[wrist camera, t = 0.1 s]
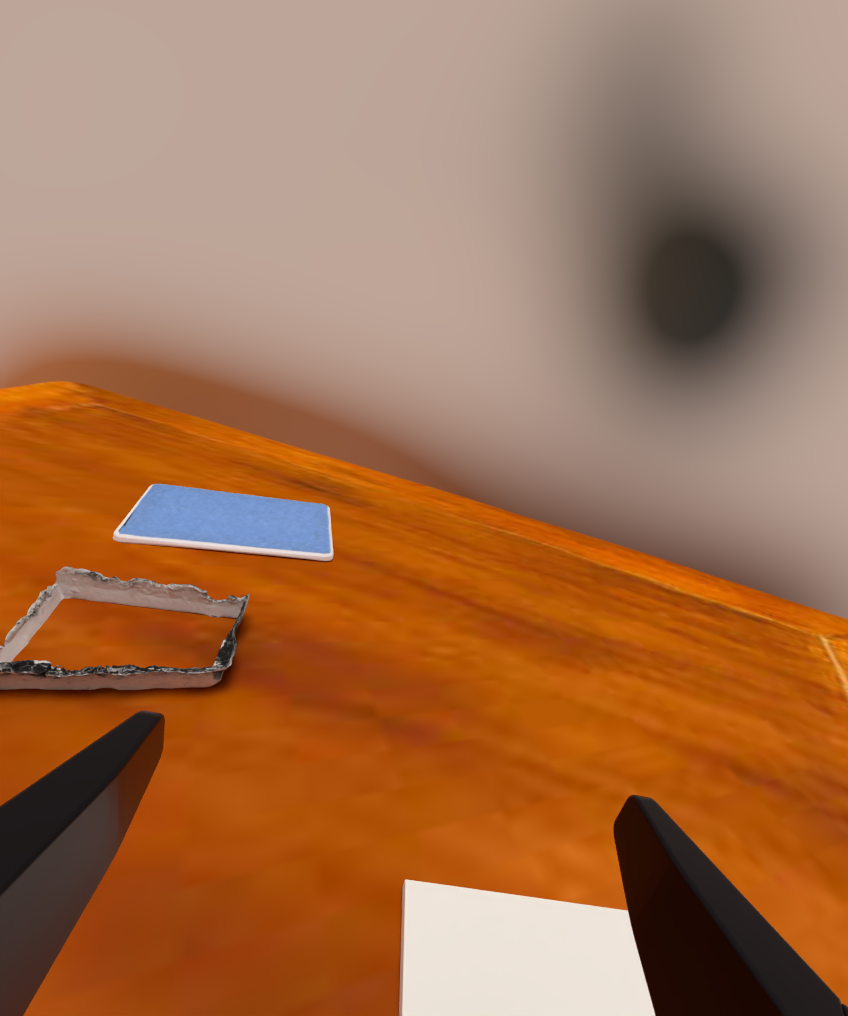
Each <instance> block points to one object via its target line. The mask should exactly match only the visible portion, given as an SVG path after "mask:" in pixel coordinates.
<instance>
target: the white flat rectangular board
mask: <svg viewBox="0 0 848 1016" xmlns="http://www.w3.org/2000/svg"><path fill="white" fill-rule="evenodd" d="M399 1016H655V1012H654V1009H653V1005H652V1001H651V998H650V994H649V990H648V987H647V983H646V979H645V976H644V972H643V968H642V965H641V961H640V957H639V954H638V950H637V947H636V943H635V939H634V935H633V931H632V927H631V923H630V918H629V914H628V911H626V910H618V909H611V908H604V907H597V906H590V905H583V904H576V903H569V902H562V901H555V900H548V899H541V898H533V897H526V896H519V895H512V894H505V893H498V892H491V891H484V890H477V889H470V888H463V887H456V886H448V885H441V884H434V883H427V882H420V881H413V880H406V879H405V882H404V885H403V892H402V927H401V962H400V997H399Z"/></svg>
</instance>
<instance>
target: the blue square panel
mask: <svg viewBox="0 0 848 1016" xmlns="http://www.w3.org/2000/svg"><path fill="white" fill-rule="evenodd" d="M113 540H115V541H117V542H121V543H132V544H144V545H158V546H171V547H182V548H194V549H205V550H215V551H226V552H236V553H247V554H258V555H270V556H280V557H290V558H300V559H310V560H318V561H331V560H332V559H333V543H332V531H331V518H330V508H329V507H328V506H326V505H324V504H318V503H310V502H301V501H293V500H285V499H277V498H269V497H261V496H253V495H245V494H237V493H229V492H221V491H213V490H205V489H197V488H189V487H181V486H173V485H165V484H153V485H151V486H150V487H149V488H148V489H147V490H146V492H145V493H144V494H143V496H142V497H141V498H140V499H139V501H138V502H137V503H136V505H135V506H134V507H133V508H132V510H131V511H130V512H129V513H128V515H127V516H126V517H125V519H124V520H123V521H122V523H121V524H120V525H119V526H118V528H117V529H116V530H115V532H114V535H113Z"/></svg>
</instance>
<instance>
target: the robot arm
mask: <svg viewBox="0 0 848 1016" xmlns="http://www.w3.org/2000/svg"><path fill="white" fill-rule="evenodd" d="M164 725H165V718H164V716H163V714H160V713H155V712H149V711H140V712H137V713H136V714H134V715H133V716H131V717H130V718H128V719H127V720H125V721H124V722H123V723H121V724H120V725H118V726H117V727H115V728H114V729H112V730H111V731H109V732H108V733H106V734H105V735H104V736H102V737H101V738H99V739H98V740H96V741H95V742H93V743H92V744H90V745H89V746H87V747H86V748H85V749H83V750H82V751H80V752H79V753H77V754H76V755H74V756H73V757H71V758H70V759H69V760H67V761H66V762H64V763H63V764H61V765H60V766H58V767H57V768H55V769H54V770H52V771H51V772H50V773H48V774H47V775H45V776H44V777H42V778H41V779H39V780H38V781H36V782H35V783H33V784H32V785H31V786H29V787H28V788H26V789H25V790H23V791H22V792H20V793H19V794H17V795H16V796H15V797H13V798H12V799H10V800H9V801H7V802H6V803H4V804H3V805H1V806H0V1016H23V1015H24V1013H25V1011H26V1009H27V1008H28V1006H29V1004H30V1002H31V1001H32V999H33V997H34V996H35V994H36V992H37V990H38V989H39V987H40V985H41V983H42V982H43V980H44V978H45V976H46V975H47V973H48V971H49V970H50V968H51V966H52V964H53V963H54V961H55V959H56V957H57V956H58V954H59V952H60V951H61V949H62V947H63V945H64V944H65V942H66V940H67V938H68V937H69V935H70V933H71V931H72V930H73V928H74V926H75V925H76V923H77V921H78V919H79V918H80V916H81V914H82V912H83V911H84V909H85V907H86V905H87V904H88V902H89V900H90V899H91V897H92V895H93V893H94V892H95V890H96V888H97V886H98V885H99V883H100V881H101V880H102V878H103V876H104V874H105V873H106V871H107V869H108V867H109V866H110V864H111V862H112V860H113V858H114V856H115V855H116V853H117V851H118V849H119V847H120V845H121V843H122V840H123V838H124V836H125V834H126V832H127V830H128V828H129V825H130V823H131V821H132V819H133V817H134V814H135V812H136V810H137V808H138V806H139V804H140V801H141V799H142V797H143V795H144V793H145V790H146V788H147V786H148V784H149V782H150V780H151V777H152V775H153V773H154V771H155V769H156V766H157V764H158V762H159V760H160V757H161V754H162V750H163V742H164ZM614 839H615V844H616V850H617V855H618V860H619V866H620V871H621V876H622V882H623V887H624V893H625V898H626V903H627V909H628V914H629V918H630V923H631V927H632V931H633V935H634V939H635V943H636V947H637V950H638V954H639V957H640V961H641V965H642V968H643V972H644V976H645V979H646V983H647V987H648V990H649V994H650V998H651V1001H652V1005H653V1009H654V1012H655V1016H848V1007H847V1006H846V1005H844V1004H841V1001H840V999H839V998H838V997H837V996H836V995H835V993H834V992H833V991H832V990H831V989H830V988H829V987H828V986H827V985H826V984H825V983H824V982H823V981H822V979H821V978H820V977H819V976H818V975H817V974H816V973H815V972H814V971H813V970H812V969H811V968H810V967H809V966H808V964H807V963H806V962H805V961H804V960H803V959H802V958H801V957H800V956H799V955H798V954H797V953H796V952H795V951H794V949H793V948H792V947H791V946H790V945H789V944H788V943H787V942H786V941H785V940H784V939H783V938H782V937H781V936H780V934H779V933H778V932H777V931H776V930H775V929H774V928H773V927H772V926H771V925H770V924H769V923H768V922H767V921H766V919H765V918H764V917H763V916H762V915H761V914H760V913H759V912H758V911H757V910H756V909H755V908H754V907H753V905H752V904H751V903H750V902H749V901H748V900H747V899H746V898H745V897H744V896H743V895H742V894H741V893H740V892H739V890H738V889H737V888H736V887H735V886H734V885H733V884H732V883H731V882H730V881H729V880H728V879H727V878H726V877H725V875H724V874H723V873H722V872H721V871H720V870H719V869H718V868H717V867H716V866H715V865H714V864H713V863H712V862H711V860H710V859H709V858H708V857H707V856H706V855H705V854H704V853H703V852H702V851H701V850H700V849H699V848H698V847H697V845H696V844H695V843H694V842H693V841H692V840H691V839H690V838H689V837H688V836H687V835H686V834H685V833H684V831H683V830H682V829H681V828H680V827H679V826H678V825H677V824H676V823H675V822H674V821H673V820H672V819H671V818H670V816H669V815H668V814H667V813H666V812H665V811H664V810H663V809H662V808H661V807H660V806H659V805H658V804H657V803H656V802H655V801H654V800H653V799H651V798H649V797H644V796H638V795H631V796H630V797H628V799H627V800H626V802H625V804H624V806H623V807H622V809H621V811H620V813H619V815H618V816H617V818H616V820H615V823H614Z"/></svg>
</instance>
